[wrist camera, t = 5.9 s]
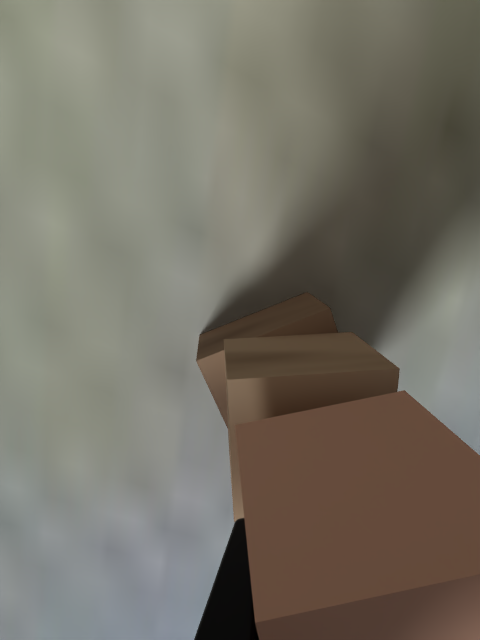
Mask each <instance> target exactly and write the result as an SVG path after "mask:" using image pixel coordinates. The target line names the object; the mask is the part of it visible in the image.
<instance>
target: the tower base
mask: <svg viewBox="0 0 480 640" xmlns="http://www.w3.org/2000/svg"><path fill="white" fill-rule="evenodd" d="M325 333H338V331H337V328H336V325H335V322H334V318H333V315H332V312H331V309H330V308H329V307H328V306H327V305H325V304H324V303H322V302H321V301H319V300H318V299H317V298H315V297H314V296H312V295H311V294H310V293H308V292H306V293H304V294H301V295H298V296H296V297H293V298H291V299H288V300H286V301H283V302H281V303H278V304H276V305H273V306H271V307H268V308H266V309H263V310H261V311H258V312H256V313H253V314H251V315H248V316H246V317H243V318H241V319H238V320H236V321H233V322H231V323H228V324H226V325H223V326H221V327H218V328H216V329H213V330H210V331H208V332H205V333H203V334H200V336H199V344H198V352H197V359H196V361H197V364H198V366H199V368H200V370H201V372H202V374H203V376H204V379H205V381H206V383H207V385H208V387H209V389H210V391H211V394H212V396H213V398H214V400H215V402H216V404H217V406H218V409H219V411H220V413H221V415H222V417H223V419H224V421H225V424H226V426H227V428H228V415H227V395H226V375H225V355H224V339H238V338H255V337H273V336H290V335H308V334H325Z"/></svg>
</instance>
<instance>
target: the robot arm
mask: <svg viewBox="0 0 480 640" xmlns="http://www.w3.org/2000/svg"><path fill="white" fill-rule="evenodd" d="M194 640H259V637H258V633H257V628H256V624H255V617H254V607H253V597H252V587H251V578H250V568H249V558H248V549H247V539H246V529H245V519H244V518H240V519H237V520H236V522H235V524H234V527H233V530H232V533H231V535H230V538H229V541H228V544H227V547H226V550H225V553H224V555H223V558H222V561H221V564H220V567H219V570H218V573H217V576H216V578H215V581H214V584H213V587H212V590H211V593H210V596H209V599H208V601H207V604H206V607H205V610H204V613H203V616H202V619H201V621H200V624H199V627H198V630H197V633H196V636H195V639H194Z"/></svg>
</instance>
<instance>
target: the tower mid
mask: <svg viewBox="0 0 480 640" xmlns="http://www.w3.org/2000/svg"><path fill="white" fill-rule="evenodd" d="M224 355H225V375H226V395H227V415H228V435H229V454H230V468H231V483H232V497H233V511H234V522H236V520H237V519H240V518H244V510H243V500H242V490H241V480H240V471H239V461H238V451H237V441H236V432H235V425H237V424H242V423H247V422H252V421H257V420H262V419H266V418H271V417H276V416H281V415H286V414H291V413H296V412H301V411H306V410H311V409H316V408H321V407H325V406H330V405H335V404H340V403H345V402H350V401H355V400H360V399H365V398H370V397H375V396H380V395H384V394H389V393H394V392H397V389H398V379H399V370H400V369H399V368H398V367H397V366H396V365H394V364H393V363H392V362H390V361H389V360H388V359H386V358H385V357H384V356H383V355H381V354H380V353H379V352H377V351H376V350H375V349H373V348H372V347H371V346H370V345H368V344H367V343H366V342H364V341H363V340H362V339H360V338H359V337H358V336H357V335H355V334H354V333H353V332H343V333H325V334H308V335H290V336H273V337H255V338H238V339H224Z"/></svg>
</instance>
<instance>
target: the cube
mask: <svg viewBox="0 0 480 640" xmlns="http://www.w3.org/2000/svg"><path fill="white" fill-rule="evenodd" d="M235 432H236V441H237V451H238V461H239V471H240V480H241V490H242V500H243V510H244V519H245V529H246V539H247V549H248V558H249V568H250V578H251V587H252V597H253V607H254V617H255V624H256V628H257V633H258V637H259V640H480V455H478V454H477V453H476V452H475V451H474V450H473V449H472V448H470V447H469V446H468V445H467V444H466V443H465V442H463V441H462V440H461V439H460V438H459V437H458V436H457V435H455V434H454V433H453V432H452V431H451V430H450V429H448V428H447V427H446V426H445V425H444V424H443V423H441V422H440V421H439V420H438V419H437V418H436V417H435V416H433V415H432V414H431V413H430V412H429V411H428V410H426V409H425V408H424V407H423V406H422V405H421V404H420V403H418V402H417V401H416V400H415V399H414V398H413V397H411V396H410V395H409V394H408V393H407V392H406V391H405V390H404V391H399V392H394V393H389V394H384V395H380V396H375V397H370V398H365V399H360V400H355V401H350V402H345V403H340V404H335V405H330V406H325V407H321V408H316V409H311V410H306V411H301V412H296V413H291V414H286V415H281V416H276V417H271V418H266V419H262V420H257V421H252V422H247V423H242V424H237V425H235Z"/></svg>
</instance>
